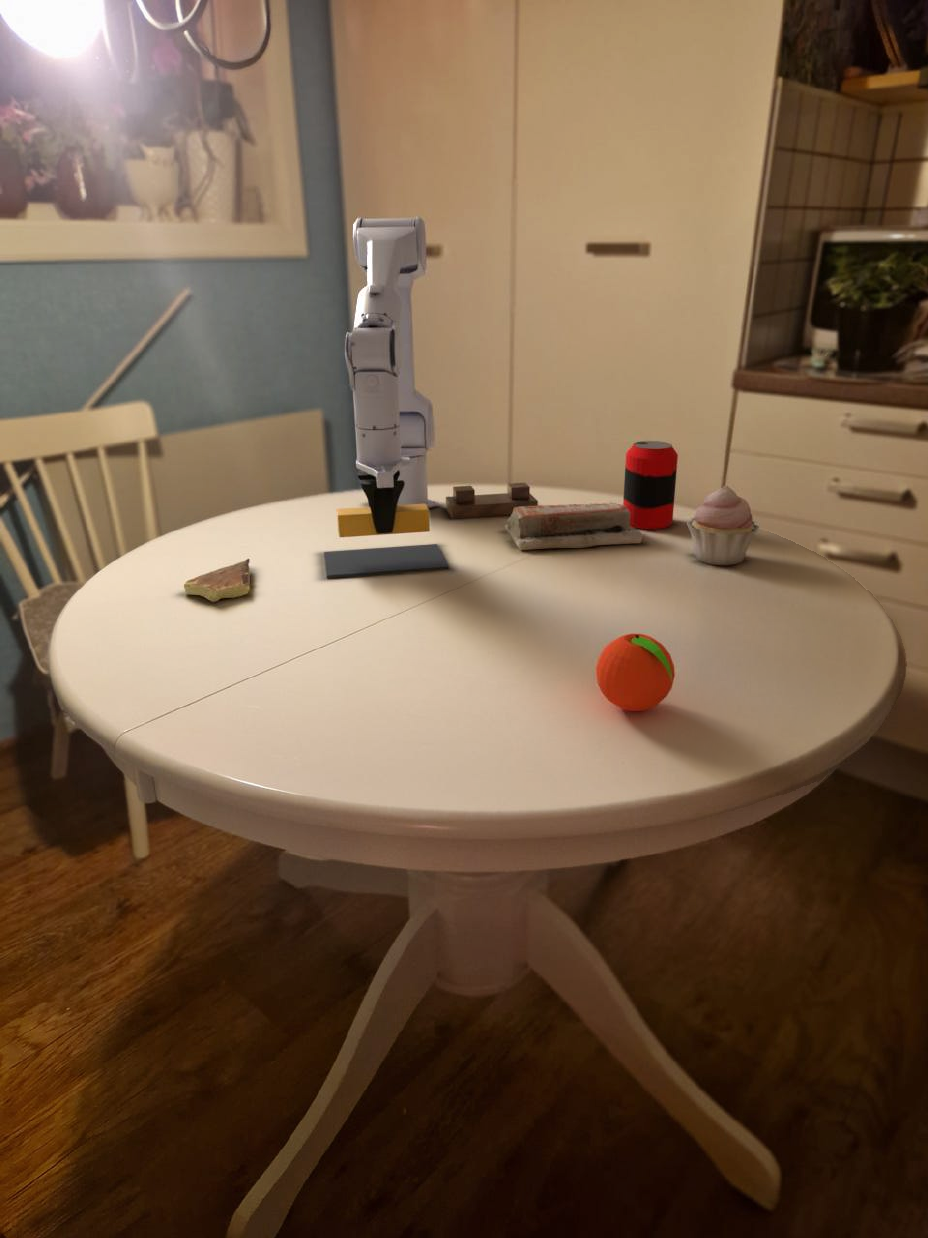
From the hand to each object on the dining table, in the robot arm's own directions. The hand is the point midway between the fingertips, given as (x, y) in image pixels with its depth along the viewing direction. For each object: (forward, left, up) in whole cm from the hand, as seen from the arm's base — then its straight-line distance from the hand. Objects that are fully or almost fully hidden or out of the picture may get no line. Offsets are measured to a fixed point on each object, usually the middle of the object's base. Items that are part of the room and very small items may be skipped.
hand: (382, 528), depth 116 cm
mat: (0, 0, -5) cm, 5 cm away
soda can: (+14, +40, -5) cm, 43 cm away
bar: (0, 0, 0) cm, 0 cm away
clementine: (+49, -9, -5) cm, 50 cm away
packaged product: (+11, +26, -5) cm, 29 cm away
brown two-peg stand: (-8, +28, -5) cm, 29 cm away
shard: (-7, -21, -5) cm, 23 cm away
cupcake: (+31, +33, -5) cm, 46 cm away
